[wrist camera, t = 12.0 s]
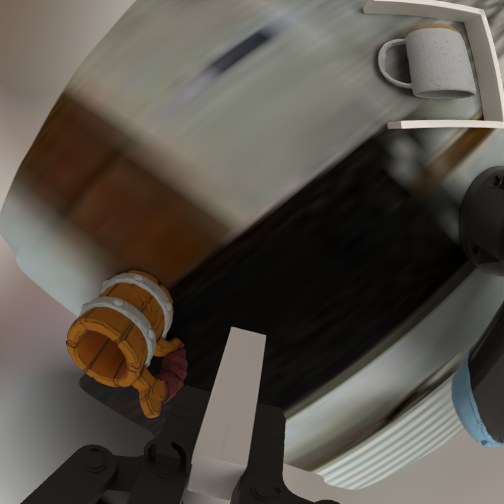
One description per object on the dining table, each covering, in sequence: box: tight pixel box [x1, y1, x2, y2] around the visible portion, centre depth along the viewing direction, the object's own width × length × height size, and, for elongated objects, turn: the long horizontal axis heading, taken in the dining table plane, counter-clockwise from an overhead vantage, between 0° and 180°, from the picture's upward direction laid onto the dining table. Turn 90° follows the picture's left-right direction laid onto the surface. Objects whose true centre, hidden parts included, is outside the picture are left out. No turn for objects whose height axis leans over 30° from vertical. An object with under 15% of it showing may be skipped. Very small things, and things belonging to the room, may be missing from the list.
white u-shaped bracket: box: [363, 0, 504, 129], centre depth 27 cm, size 16×16×4 cm
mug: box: [66, 270, 188, 418], centre depth 37 cm, size 11×16×15 cm, turn 42°
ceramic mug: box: [378, 24, 476, 99], centre depth 26 cm, size 11×8×8 cm
